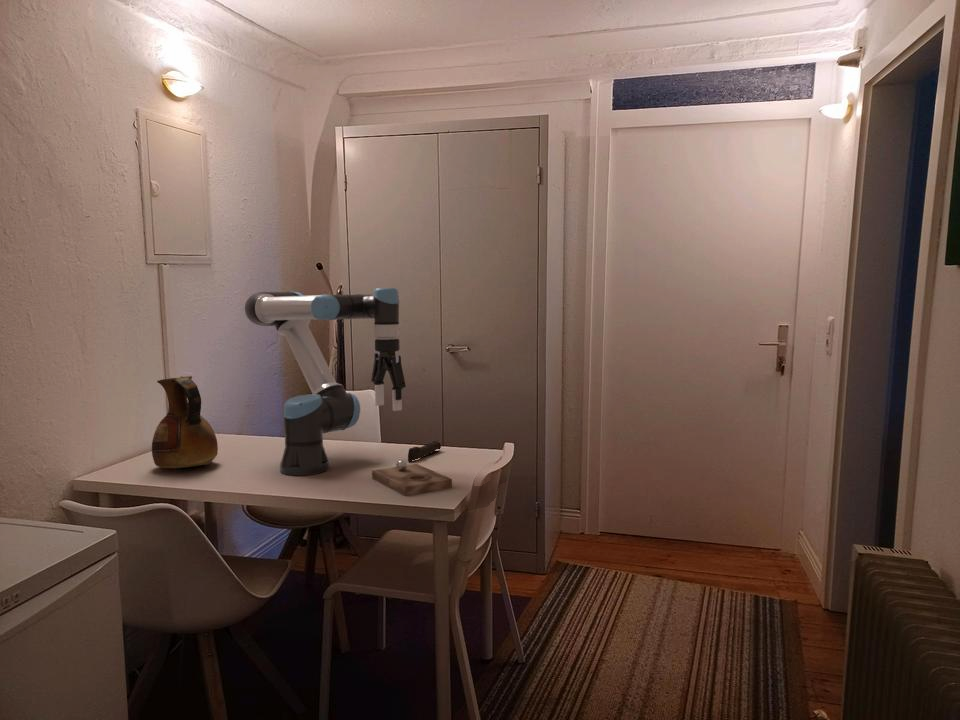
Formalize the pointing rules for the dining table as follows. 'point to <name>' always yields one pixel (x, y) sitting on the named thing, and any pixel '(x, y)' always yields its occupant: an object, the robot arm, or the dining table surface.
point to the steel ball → (401, 465)
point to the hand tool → (422, 450)
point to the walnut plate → (412, 479)
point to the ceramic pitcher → (183, 428)
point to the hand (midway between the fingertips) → (388, 407)
